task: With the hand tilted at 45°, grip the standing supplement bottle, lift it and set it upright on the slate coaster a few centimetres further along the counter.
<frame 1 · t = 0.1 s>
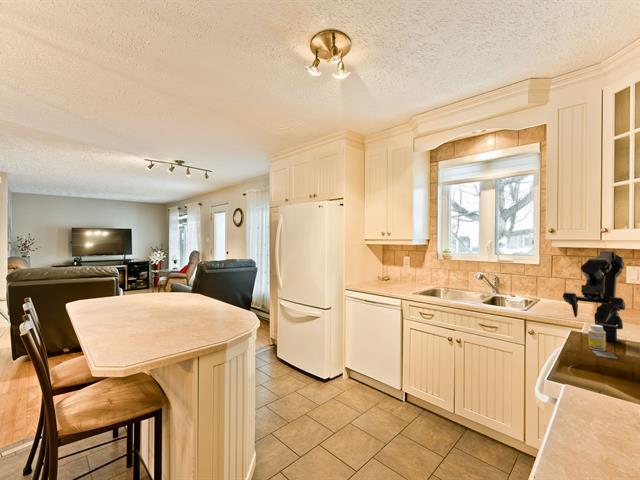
hand: (589, 319, 122), 15 cm above the countertop, tool tilted 35°, fingers open, 9 cm apart
slate coaster: (604, 355, 123), on the countertop
supplement bottle: (597, 349, 129), on the countertop
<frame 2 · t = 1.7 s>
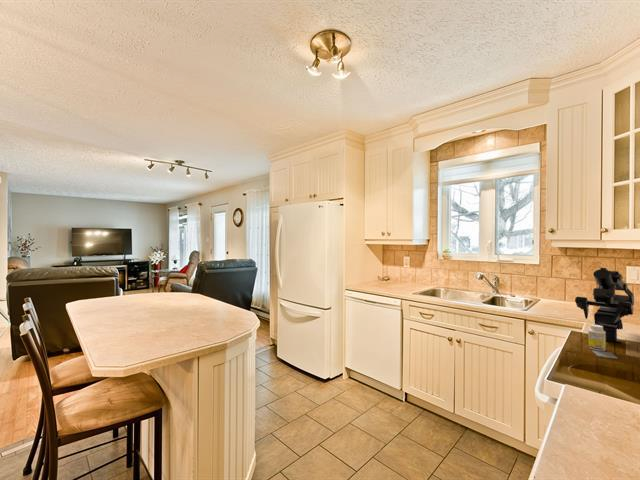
hand: (599, 320, 132), 12 cm above the countertop, tool tilted 45°, fingers open, 9 cm apart
nothing on the countertop moved.
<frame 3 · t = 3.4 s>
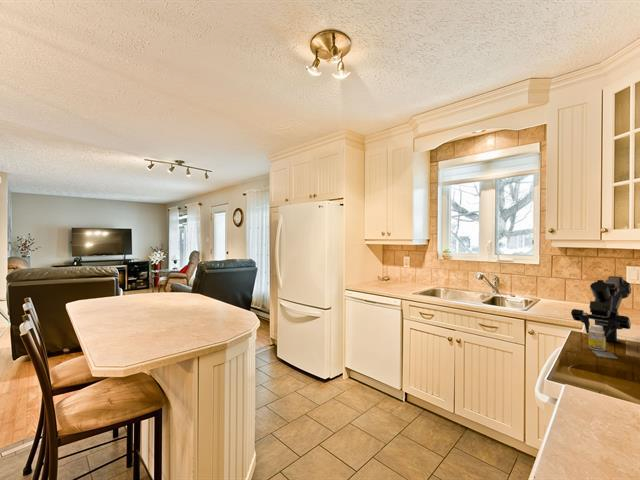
hand: (596, 334, 129), 7 cm above the countertop, tool tilted 45°, fingers closed on supplement bottle, 5 cm apart
supplement bottle: (597, 349, 129), on the countertop, touching gripper
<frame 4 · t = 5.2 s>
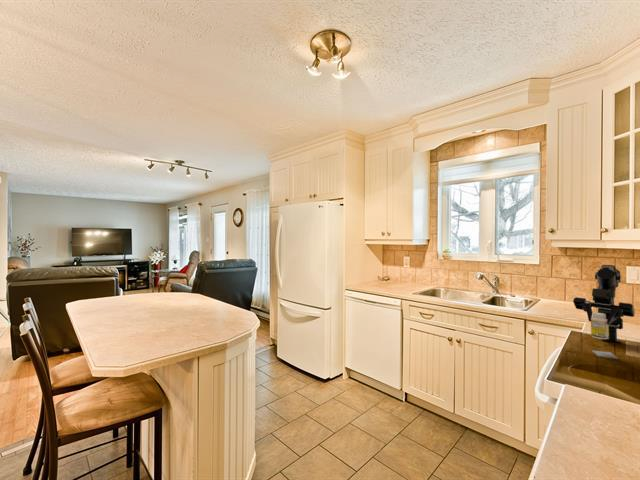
hand: (598, 322, 125), 13 cm above the countertop, tool tilted 45°, fingers closed on supplement bottle, 5 cm apart
supplement bottle: (599, 338, 126), point 6 cm above the countertop, touching gripper
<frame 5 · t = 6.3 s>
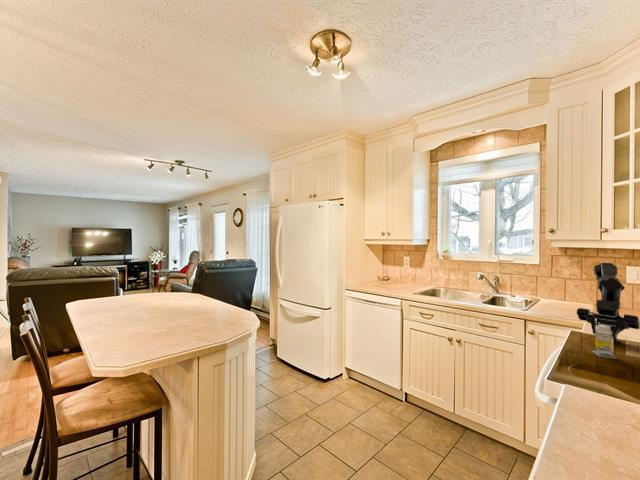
hand: (603, 335, 122), 8 cm above the countertop, tool tilted 45°, fingers closed on supplement bottle, 5 cm apart
supplement bottle: (604, 350, 123), point 2 cm above the countertop, touching gripper
when the fingers open (8 cm above the countertop, at t = 6.9 s): supplement bottle stays where it is, resting on slate coaster.
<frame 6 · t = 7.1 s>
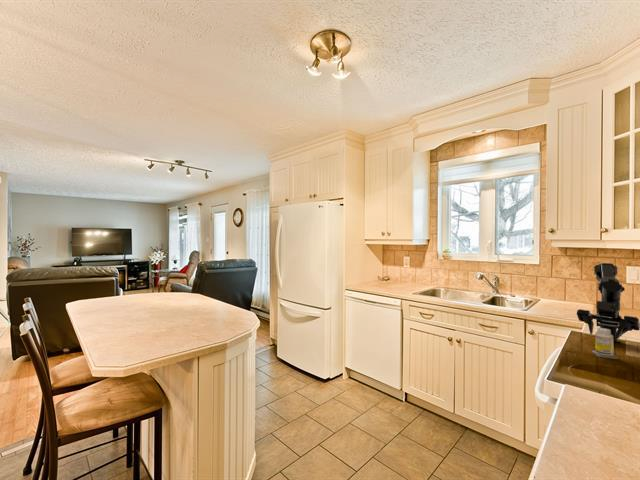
hand: (603, 336, 122), 8 cm above the countertop, tool tilted 45°, fingers open, 7 cm apart
supplement bottle: (604, 354, 123), resting on slate coaster
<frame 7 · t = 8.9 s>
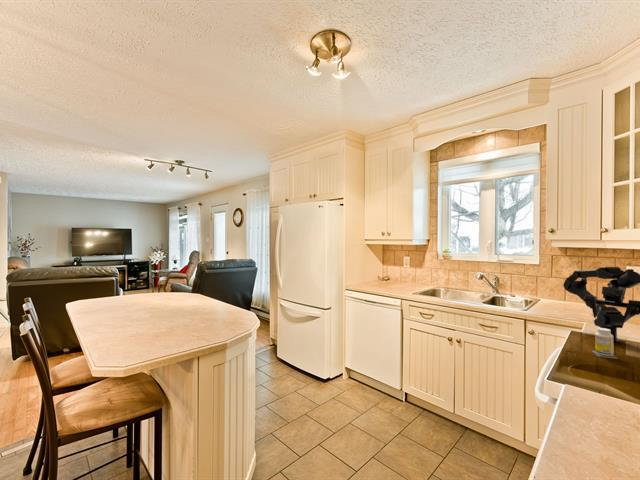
hand: (608, 319, 128), 13 cm above the countertop, tool tilted 45°, fingers open, 9 cm apart
nothing on the countertop moved.
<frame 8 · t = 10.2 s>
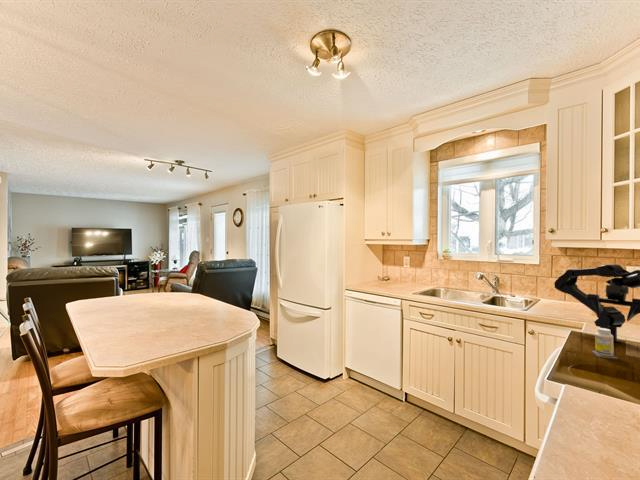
hand: (612, 318, 129), 14 cm above the countertop, tool tilted 45°, fingers open, 9 cm apart
nothing on the countertop moved.
at the end: supplement bottle 0.4 cm from the target spot, resting on slate coaster; supplement bottle tilted 0°; supplement bottle touching slate coaster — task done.
